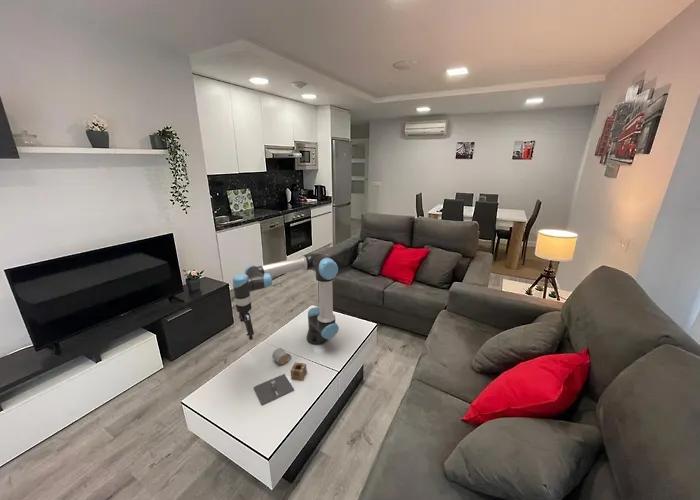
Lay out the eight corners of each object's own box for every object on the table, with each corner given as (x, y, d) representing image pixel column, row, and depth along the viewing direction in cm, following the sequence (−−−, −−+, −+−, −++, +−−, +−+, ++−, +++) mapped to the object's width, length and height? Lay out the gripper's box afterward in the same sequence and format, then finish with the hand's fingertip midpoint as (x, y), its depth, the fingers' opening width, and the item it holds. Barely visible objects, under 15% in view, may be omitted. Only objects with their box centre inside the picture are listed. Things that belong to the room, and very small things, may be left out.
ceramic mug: (279, 367, 176) (278, 357, 174) (272, 361, 182) (271, 350, 179) (294, 359, 183) (293, 349, 181) (287, 353, 189) (286, 343, 186)
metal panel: (284, 375, 170) (283, 368, 168) (294, 390, 159) (293, 383, 157) (253, 388, 160) (252, 381, 159) (261, 405, 149) (260, 398, 148)
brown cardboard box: (295, 370, 174) (294, 361, 172) (306, 372, 172) (306, 363, 170) (291, 378, 167) (290, 370, 165) (302, 380, 166) (302, 371, 164)
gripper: (230, 295, 160) (235, 328, 166) (242, 315, 140) (247, 352, 147) (244, 292, 164) (248, 324, 170) (257, 311, 144) (261, 347, 151)
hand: (247, 337), depth 159 cm, fingers open, 13 cm apart
